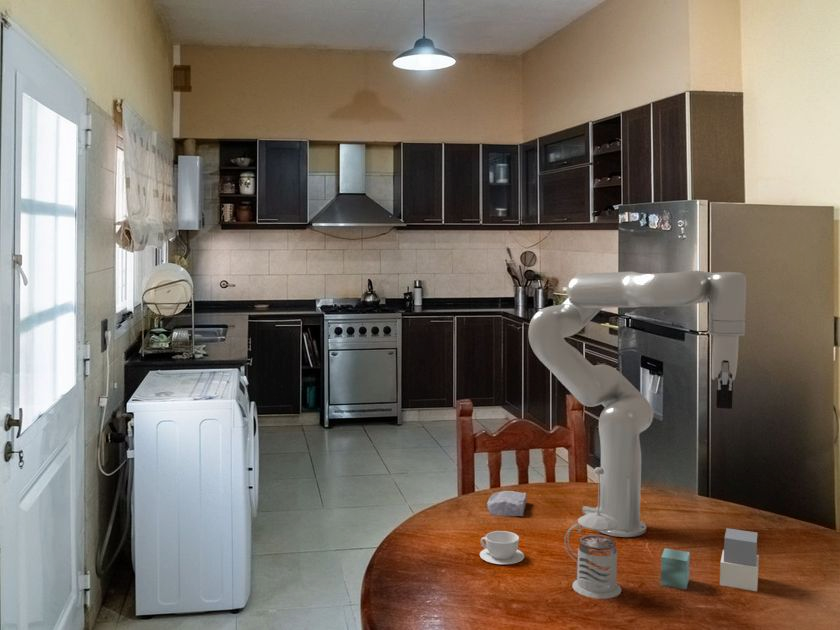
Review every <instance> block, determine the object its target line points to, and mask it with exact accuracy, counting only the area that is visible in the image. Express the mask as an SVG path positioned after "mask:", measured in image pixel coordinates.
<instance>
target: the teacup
mask: <svg viewBox="0 0 840 630" xmlns="http://www.w3.org/2000/svg"><path fill="white" fill-rule="evenodd" d="M484 541H485V543H484ZM519 543H520V536H519V535H518V534H517V533H514V532H512V531H506V530H495V531H491V532H488V533H486V534H485V536H483V537H481V539H480V545H481V547H483V550H481V551H480V552H479V556H480V558H481V559H482V560H484V561H485V562H487V563H490V564H495V565H514V564H517V563H519V562H520V563H521V562H522V561H523V560H525V553H524V552H522V551H521V550H519V549H518V548H519Z"/></svg>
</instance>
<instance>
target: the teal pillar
mask: <svg viewBox="0 0 840 630" xmlns="http://www.w3.org/2000/svg"><path fill="white" fill-rule="evenodd" d="M690 554H691V553H690V551H684V550H678V549H673V548H664V549H663V552H662V553H661V558H660V559H661V561H660V562H661V563H660V586H664V587H668V588H669V587H670V588H674V589H682V590H684V591H685V590H687V589H688V585H689V582H690V556H691V555H690Z"/></svg>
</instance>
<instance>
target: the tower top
mask: <svg viewBox="0 0 840 630" xmlns="http://www.w3.org/2000/svg"><path fill="white" fill-rule="evenodd" d="M725 529H726V530H725V534H724V539H723V540H724V542H723V550H724V562H729V563H735V564H741V565H747V566H753V567H756V557H757V555H758V532H756V531H748V530H740V529H735V528H728V527H726V528H725Z"/></svg>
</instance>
